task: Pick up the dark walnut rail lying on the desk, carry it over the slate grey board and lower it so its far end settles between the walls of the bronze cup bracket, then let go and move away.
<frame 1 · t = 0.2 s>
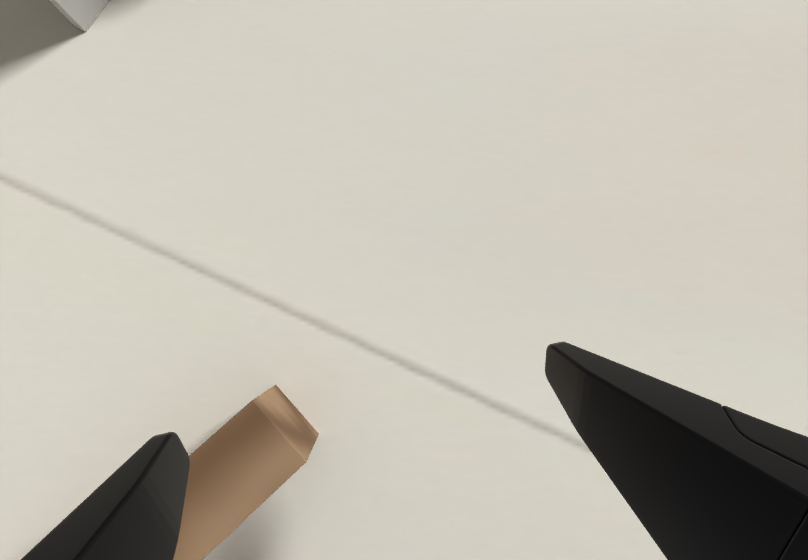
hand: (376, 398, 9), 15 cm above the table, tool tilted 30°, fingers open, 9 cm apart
walnut rail: (178, 517, 22), on the table
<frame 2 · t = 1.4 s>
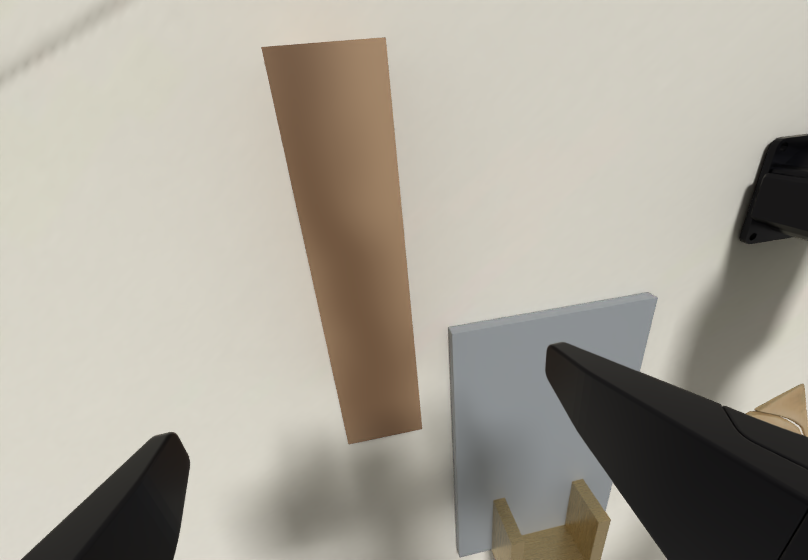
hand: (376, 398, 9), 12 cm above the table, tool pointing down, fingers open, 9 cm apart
board: (736, 480, 40), on the table
cup bracket: (546, 535, 31), on the mounting board, point 3 cm above the table
walnut rail: (355, 248, 20), on the table
mounting board: (538, 439, 30), on the table
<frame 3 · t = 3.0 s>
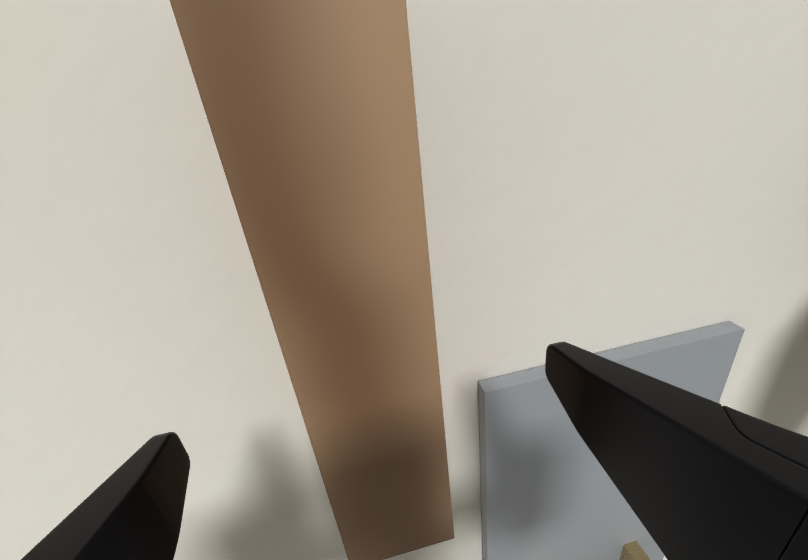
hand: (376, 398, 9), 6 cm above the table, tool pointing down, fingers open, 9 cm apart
walnut rail: (351, 286, 15), on the table
mounting board: (584, 500, 24), on the table
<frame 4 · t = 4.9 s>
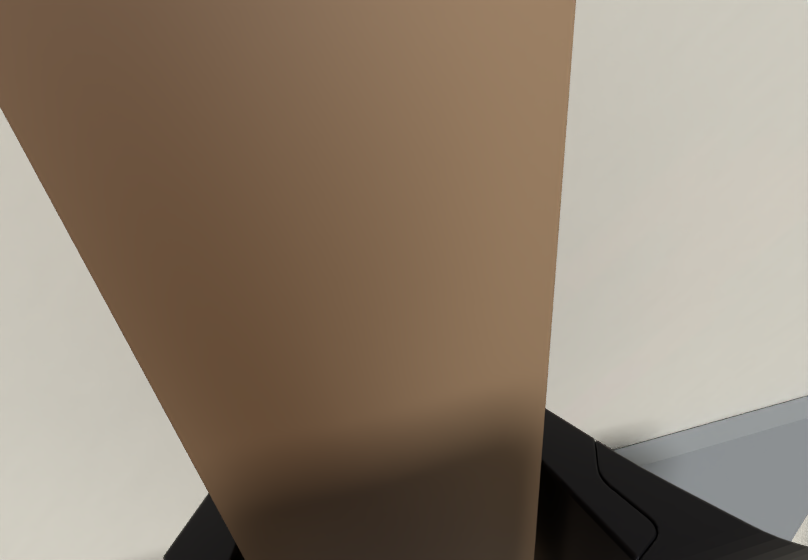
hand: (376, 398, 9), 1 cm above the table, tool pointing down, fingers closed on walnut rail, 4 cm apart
walnut rail: (370, 368, 10), on the table, touching gripper
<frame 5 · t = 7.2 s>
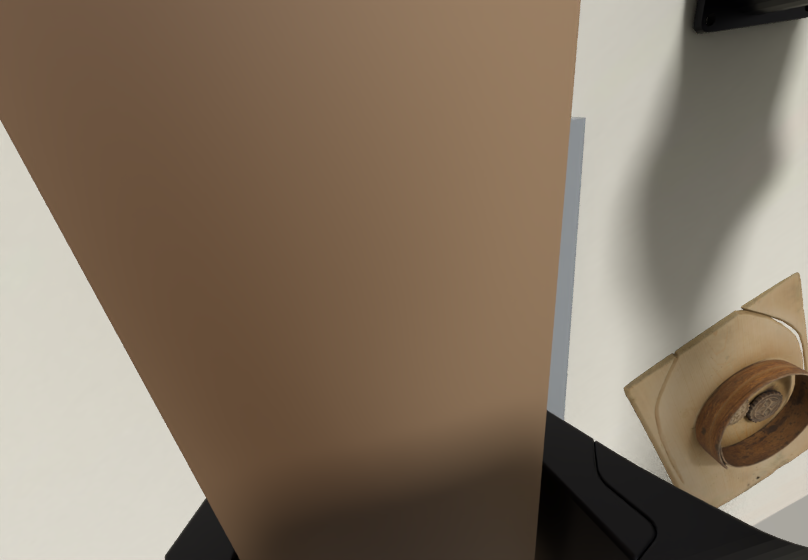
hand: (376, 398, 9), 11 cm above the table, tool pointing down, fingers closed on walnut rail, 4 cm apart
board: (725, 408, 33), on the table
walnut rail: (369, 369, 10), point 10 cm above the table, touching gripper
mounting board: (458, 347, 23), on the table
when the fingers open (3 cm above the table, at t = 9.8 s): walnut rail drops 1 cm, resting on mounting board.
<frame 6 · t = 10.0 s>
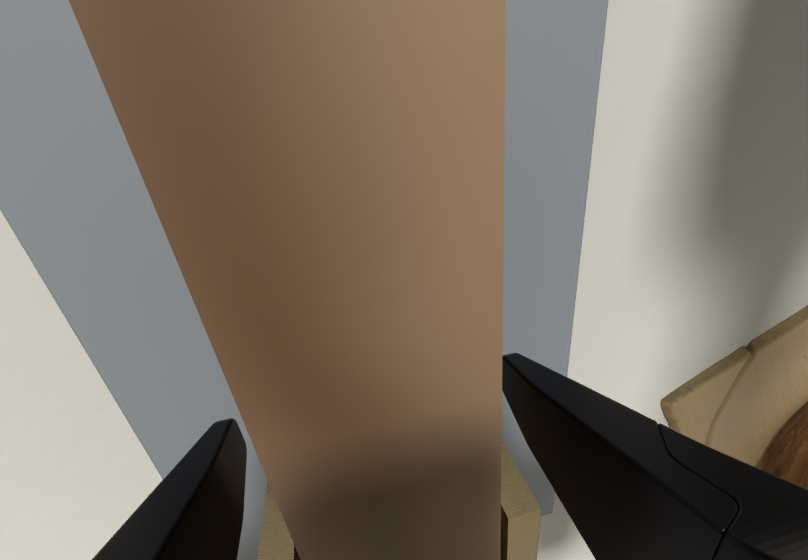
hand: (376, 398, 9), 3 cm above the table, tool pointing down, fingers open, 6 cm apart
board: (797, 435, 22), on the table
cup bracket: (405, 554, 13), on the mounting board, point 3 cm above the table
walnut rail: (366, 341, 11), point 1 cm above the table, touching mounting board
mounting board: (358, 314, 12), on the table
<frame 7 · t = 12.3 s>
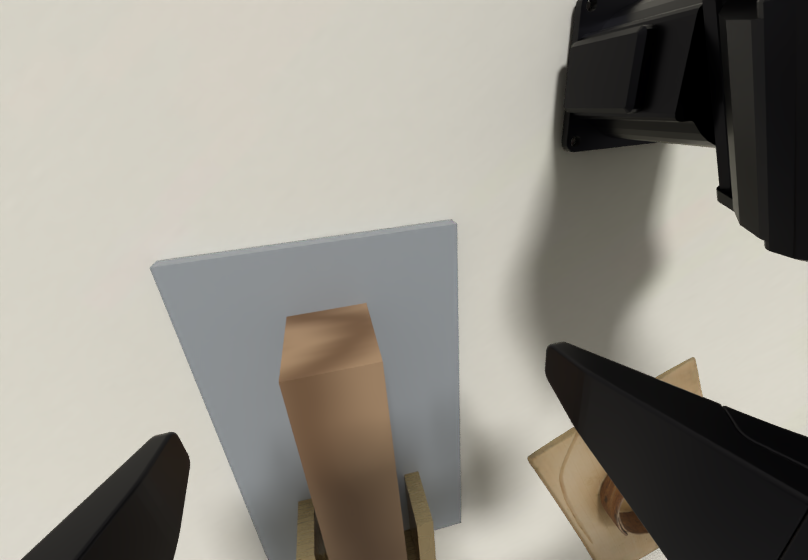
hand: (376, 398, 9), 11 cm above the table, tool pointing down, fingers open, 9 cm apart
board: (633, 474, 35), on the table
cup bracket: (369, 544, 25), on the mounting board, point 3 cm above the table
walnut rail: (351, 437, 23), point 1 cm above the table, touching mounting board
mounting board: (348, 421, 23), on the table
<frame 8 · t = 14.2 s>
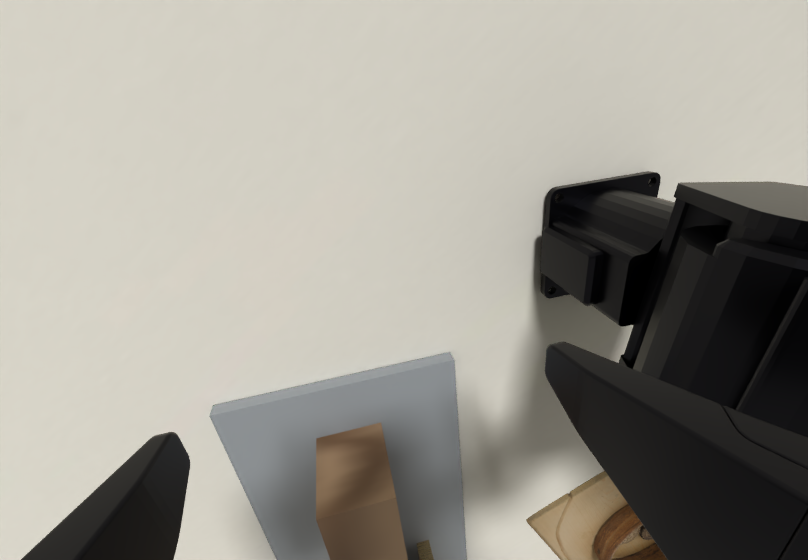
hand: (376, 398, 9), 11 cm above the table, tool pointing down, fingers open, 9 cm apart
board: (625, 523, 38), on the table
walnut rail: (370, 519, 27), point 1 cm above the table, touching mounting board
mounting board: (367, 504, 27), on the table
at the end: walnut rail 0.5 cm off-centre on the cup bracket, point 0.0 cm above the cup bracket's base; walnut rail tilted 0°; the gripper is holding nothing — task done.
